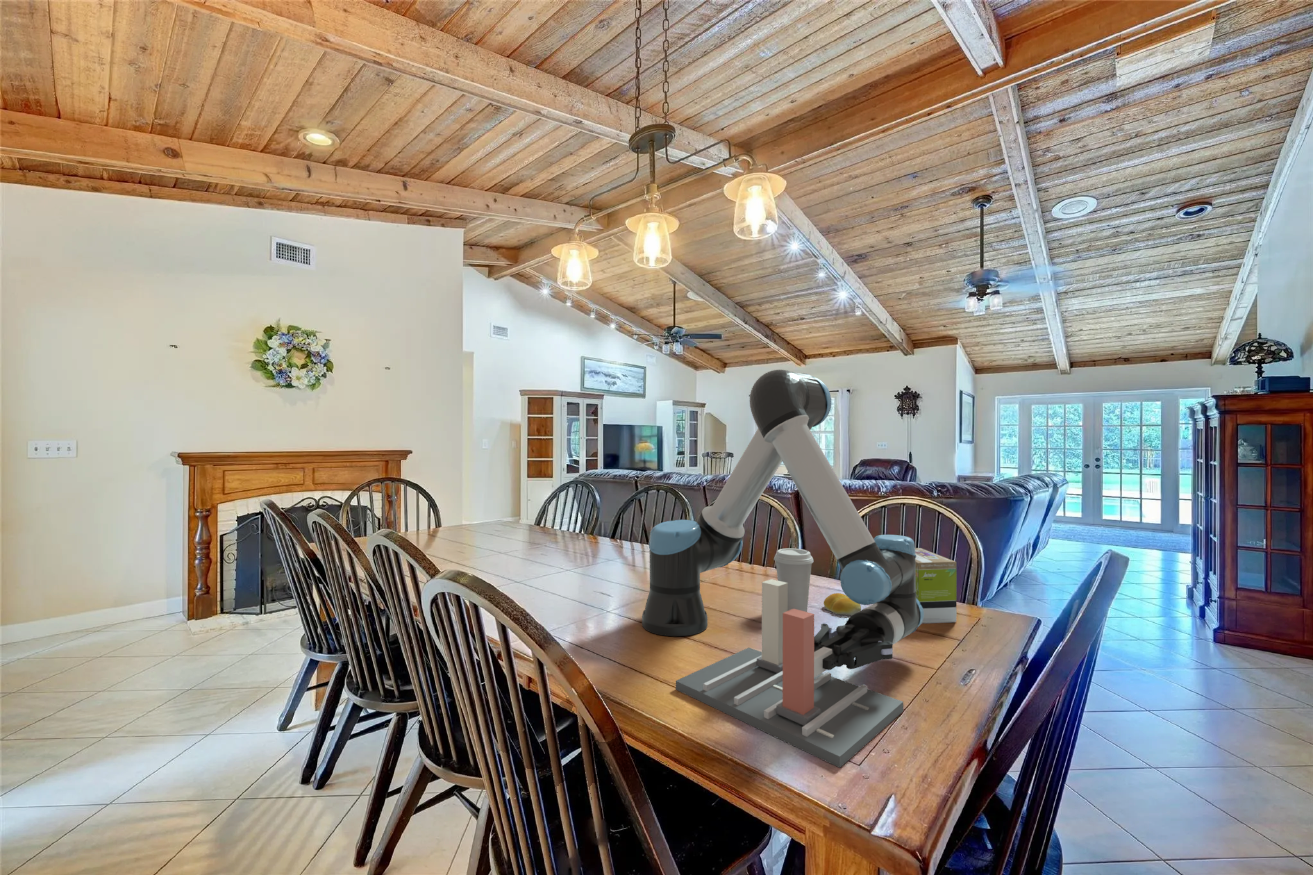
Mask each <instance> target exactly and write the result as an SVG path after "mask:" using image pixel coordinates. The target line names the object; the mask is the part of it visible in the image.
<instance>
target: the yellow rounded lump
mask: <svg viewBox="0 0 1313 875" xmlns="http://www.w3.org/2000/svg"><path fill="white" fill-rule="evenodd" d="M823 606H824V608H825V609H826V610H827V611H829V612H832V613H833V614H835V615H837V616H838V615H839V616H848V617H849V616H850V617H851V616H852V615H853V614H855V613H857V612H859V611H861V610H862V606H861V604H858V603H855V602H854V601H852V600H851V599H849V598H848V597H847V596H846V595H845V593H844V594H843V593H840V592H836V593H835V592H834V593H831V594H829V595H828V596H827V597H826V598H825V599H824V600H823Z"/></svg>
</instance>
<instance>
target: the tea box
mask: <svg viewBox="0 0 1313 875" xmlns="http://www.w3.org/2000/svg"><path fill="white" fill-rule="evenodd" d="M915 555H916V558H915V564H916V598H917V599H918V601H919V602H920V604H921V606H922V608H923V611H924V618H923V621H922V623H921V624H942V623H943V624H945V623H946V624H947V623H956V622H957V617H958V616H957V609H958V608H957V600H958V599H957V593H958V592H957V586H958V585H957V581H958V580H957V574H958V573H957V572H958V571H957V561H955V560H952V559H950V558H947V557H945V556H943V555H939V554H937V553H934V552H933V551H932V552H931V551H929V550H927V549H925V548H921V547H915Z"/></svg>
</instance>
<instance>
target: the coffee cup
mask: <svg viewBox="0 0 1313 875" xmlns="http://www.w3.org/2000/svg"><path fill="white" fill-rule="evenodd" d="M773 561H775V563H776V564H775V565H776V577H777V578H776V579H777V581H781V582H786V583H788V611H789V610H791V609H797V610H801V611H805V612H808V605H809V595H810V594H809V593H810V584H811V573H812V564H813V563H814V558H813V556H812V555H811V552H810V551H809V550H807V549H801V548H781V549H778V550H777V551H776V553H775V555H774V558H773Z"/></svg>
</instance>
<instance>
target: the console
mask: <svg viewBox="0 0 1313 875" xmlns="http://www.w3.org/2000/svg"><path fill="white" fill-rule="evenodd" d="M761 656H762V651H760V650H757V649H754V648H751V647H747V648H745V649H742V650H740V651H738V652H736V653H733V654H731V655H729V656H727V657H724V658H723V659H722V658H721V659H720V660H718V661H716V662H714V663H711V664H709V665H707V666H705V667H703V668H701V669H699V670H696V671H694V672H692V673H690V674H688V675H685V676H683V677H681V678H679V679H677V680H675V690H676V691H678V692H680V693H683V694H684V695H686V696H689V697H691V698H693V699H695V700H697V701H699V702H701V703H703V704H706V705H707V706H710V707H712V708H713V709H716V710H718V711H720V712H722V713H724V714H727V715H728V716H731V717H733V718H735V719H737V720H739V721H741V722H742V723H746V724H747V725H749V726H751V727H753V728H756V729H757V730H759V731H762V732H763V733H766V734H768V735H770V736H772V737H775V738H776V739H778V740H781V741H783V742H785V743H787V744H790V745H791V746H793V747H795V748H797V749H799V750H802V751H804V752H806V753H808V754H810V755H812V756H814V757H816V758H818V759H820V760H822V761H825V762H827V763H829V764H831V765H833V766H835V767H837V768H839V769H840V768H841V767H843V766H844V765H845V764H846V763H847V762H848V761H849V760H851V758H852V757H854V756H855V755H856V754H857V753H858V752H860V751H861V750H862V748H864V747H865V746H867V744H868V743H870V742H871V740H873V739H874V738H875V737H876V736H877V735H879V733H880V732H882V731H883V730H884V729H885V728H886V727H887V726H888V725H889V724H890V723H892V722H893V721H894V720H896V718H898V716H900V715H901V714H902V713H903V712H904V701H903V700H900V699H896V698H893V697H891V696H889V695H886V694H882V693H880V692H877V691H874V690H871V689H868V685H866V684H861V685H857V684H854V683H851V682H849V681H847V680H842V679H840V678H837V677H835V676H832V673H831V672H829V671H826V672H822V673H821V674H819V675H818V676H816V677H814V706H816V707H818V708H820V715H819V716H817V717H816V718H815V719H813V720H812V721H810V722H809V723H808V724H806V725H805V726H804V725H802V724H799V723H797V722H795V721H792V720H790V719H788V718H786V717H783V716H781V715H779V714H777V713H776V705H778V704H780V703H781V702H783V671H781V672H779V673H776V672H773V671H771V670H768V669H765V668H763V667H760V666H757V658H759V657H761Z"/></svg>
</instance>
